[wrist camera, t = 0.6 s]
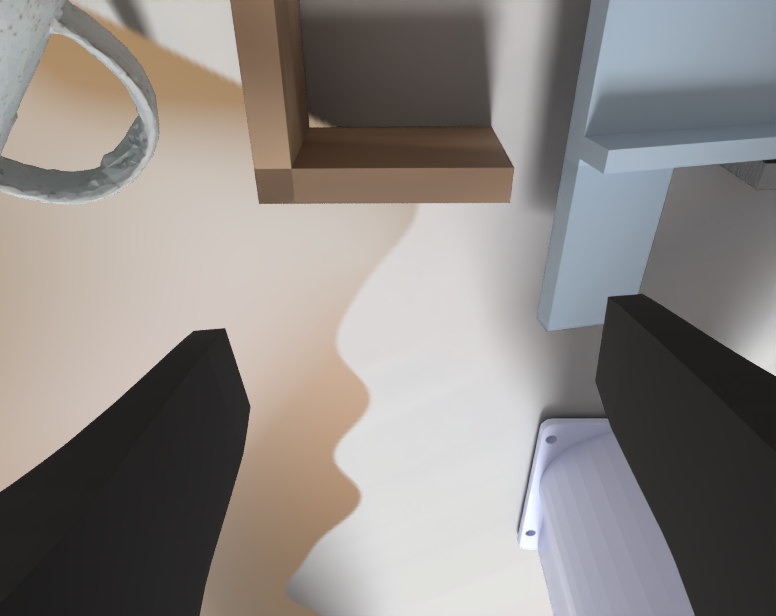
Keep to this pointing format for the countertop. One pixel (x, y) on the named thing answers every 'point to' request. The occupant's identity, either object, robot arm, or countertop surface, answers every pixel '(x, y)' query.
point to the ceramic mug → (12, 77)
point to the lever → (651, 134)
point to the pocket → (347, 134)
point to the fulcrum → (755, 173)
